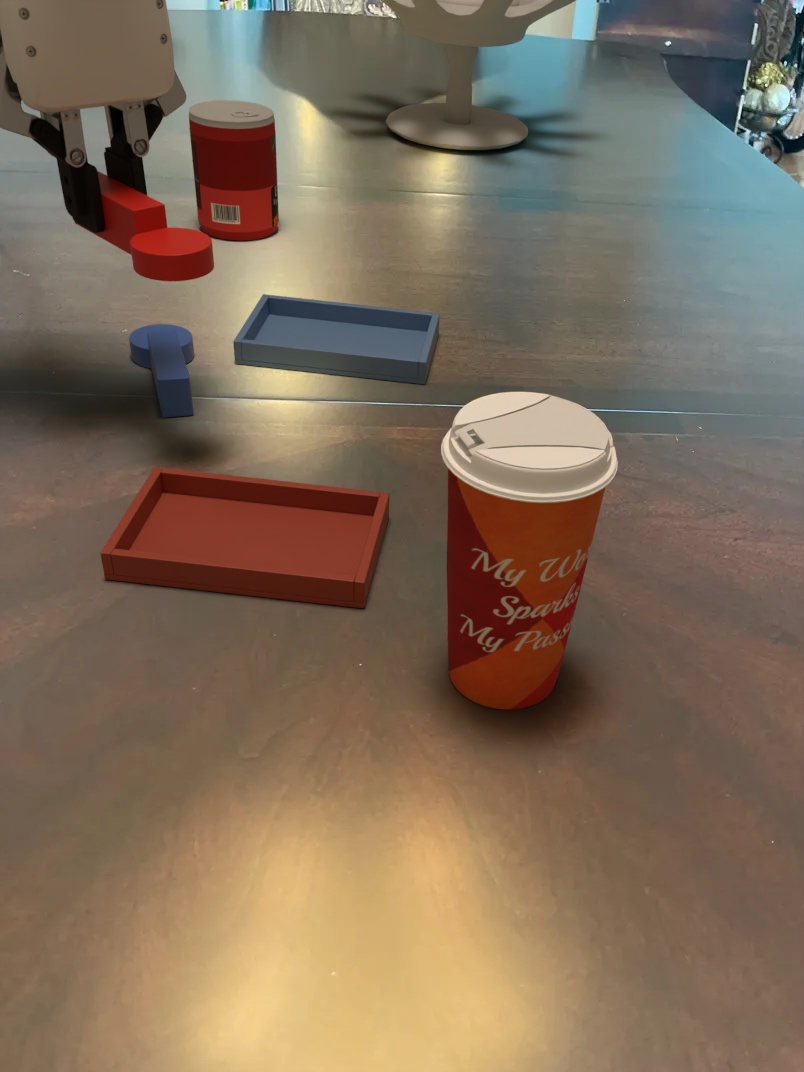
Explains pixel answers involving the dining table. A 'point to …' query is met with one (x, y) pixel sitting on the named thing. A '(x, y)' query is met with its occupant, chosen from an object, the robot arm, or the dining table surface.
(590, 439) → the coffee cup
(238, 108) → the canned food
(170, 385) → the blue spoon
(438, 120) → the beige pedestal fruit bowl
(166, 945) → the dining table surface
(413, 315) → the blue tray
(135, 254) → the red spoon
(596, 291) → the dining table surface
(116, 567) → the red tray
